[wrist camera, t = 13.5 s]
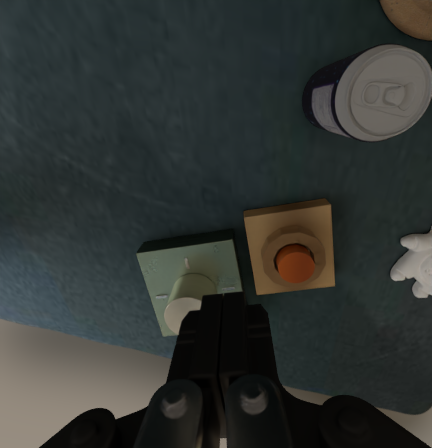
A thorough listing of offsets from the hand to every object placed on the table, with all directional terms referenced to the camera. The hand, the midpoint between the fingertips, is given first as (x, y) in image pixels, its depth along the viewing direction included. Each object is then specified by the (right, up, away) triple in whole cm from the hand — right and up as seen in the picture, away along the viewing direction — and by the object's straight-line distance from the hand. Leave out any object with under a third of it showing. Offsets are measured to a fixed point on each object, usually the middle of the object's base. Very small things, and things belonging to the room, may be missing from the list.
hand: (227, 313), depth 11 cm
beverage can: (+11, +15, +18) cm, 26 cm away
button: (+8, -1, +20) cm, 22 cm away
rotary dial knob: (-3, -5, +24) cm, 24 cm away
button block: (+8, +1, +24) cm, 25 cm away
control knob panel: (-3, -4, +26) cm, 27 cm away
